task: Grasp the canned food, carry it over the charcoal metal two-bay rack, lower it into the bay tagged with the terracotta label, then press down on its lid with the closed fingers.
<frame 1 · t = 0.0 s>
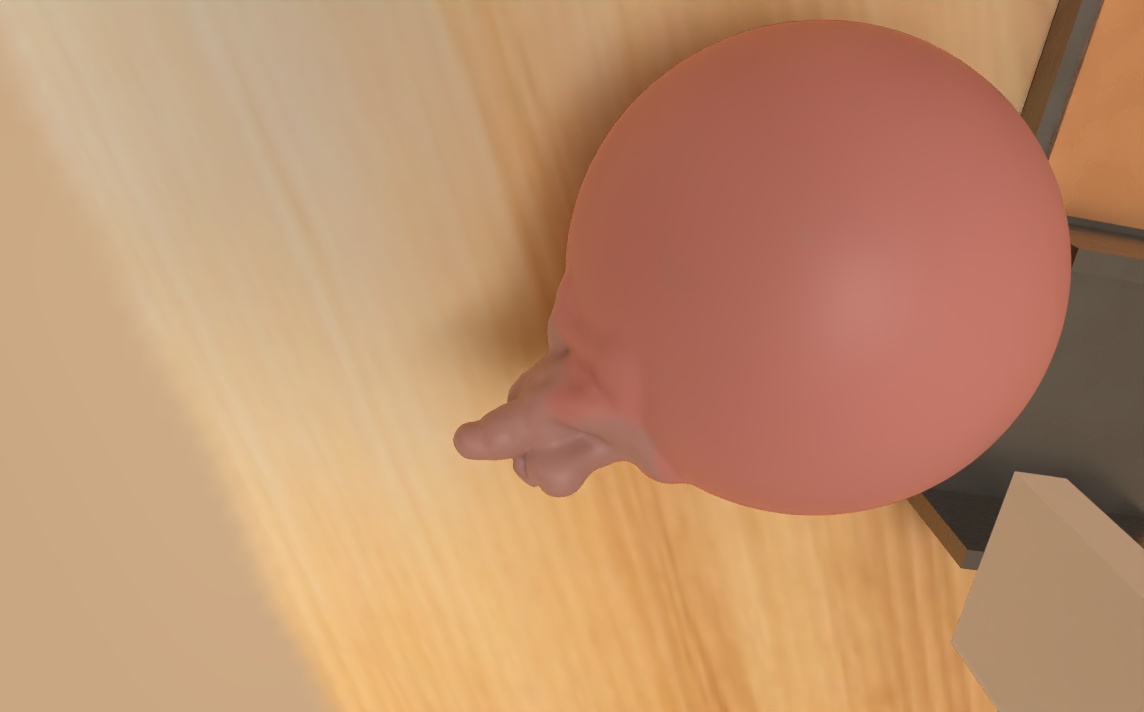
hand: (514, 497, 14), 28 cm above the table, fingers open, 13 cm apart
rack: (1114, 235, 44), on the table
balloon: (690, 233, 42), on the table
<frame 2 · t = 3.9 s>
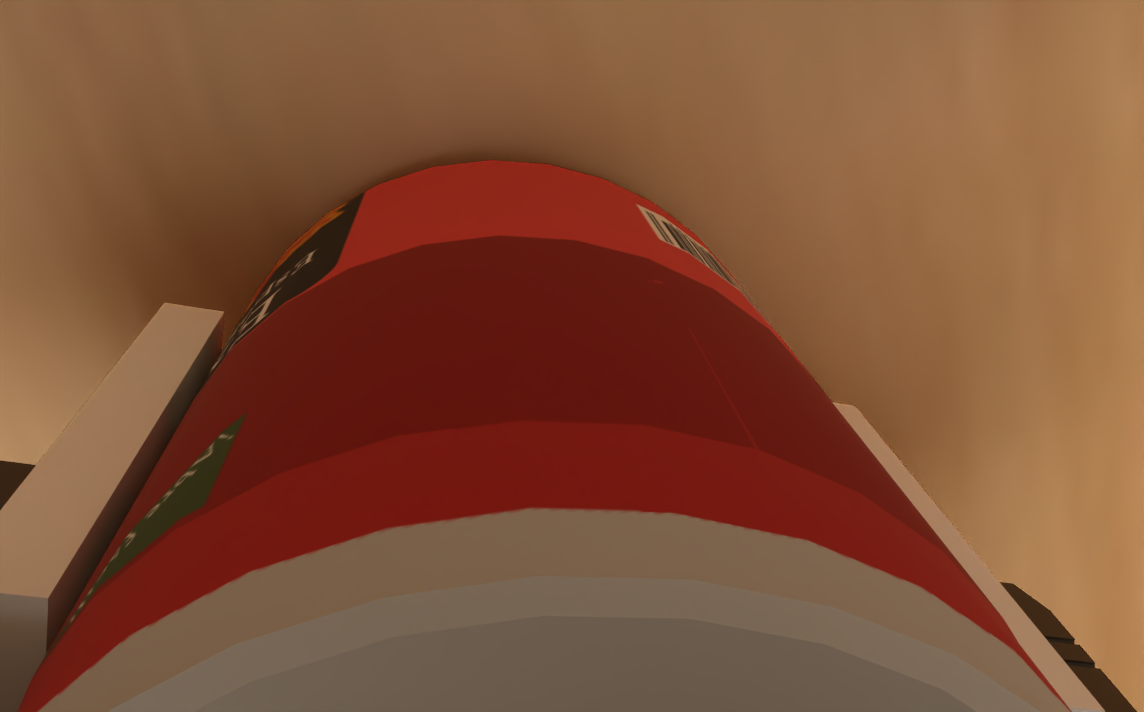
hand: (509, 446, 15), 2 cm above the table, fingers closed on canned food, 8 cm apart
canned food: (504, 389, 17), on the table, touching gripper
when the fingers open (5 cm above the table, at t = 11.0 s): canned food drops 1 cm, resting on rack.
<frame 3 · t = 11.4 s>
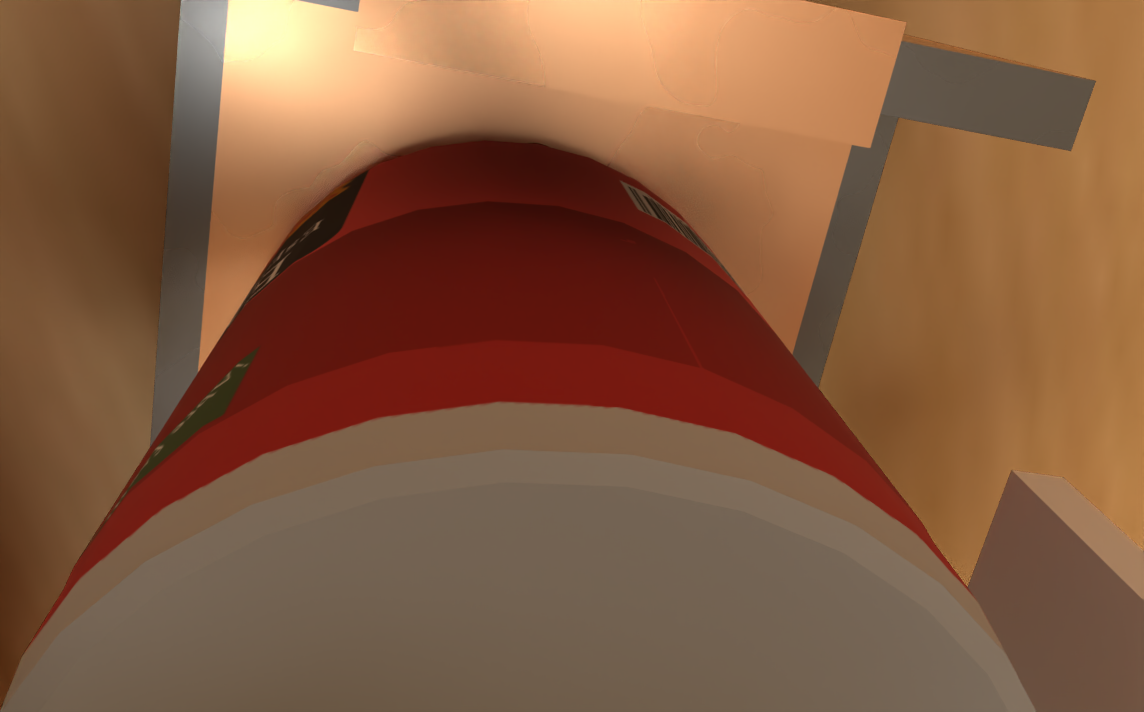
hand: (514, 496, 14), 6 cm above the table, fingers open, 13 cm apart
rack: (447, 606, 22), on the table
canned food: (500, 359, 18), point 2 cm above the table, touching rack
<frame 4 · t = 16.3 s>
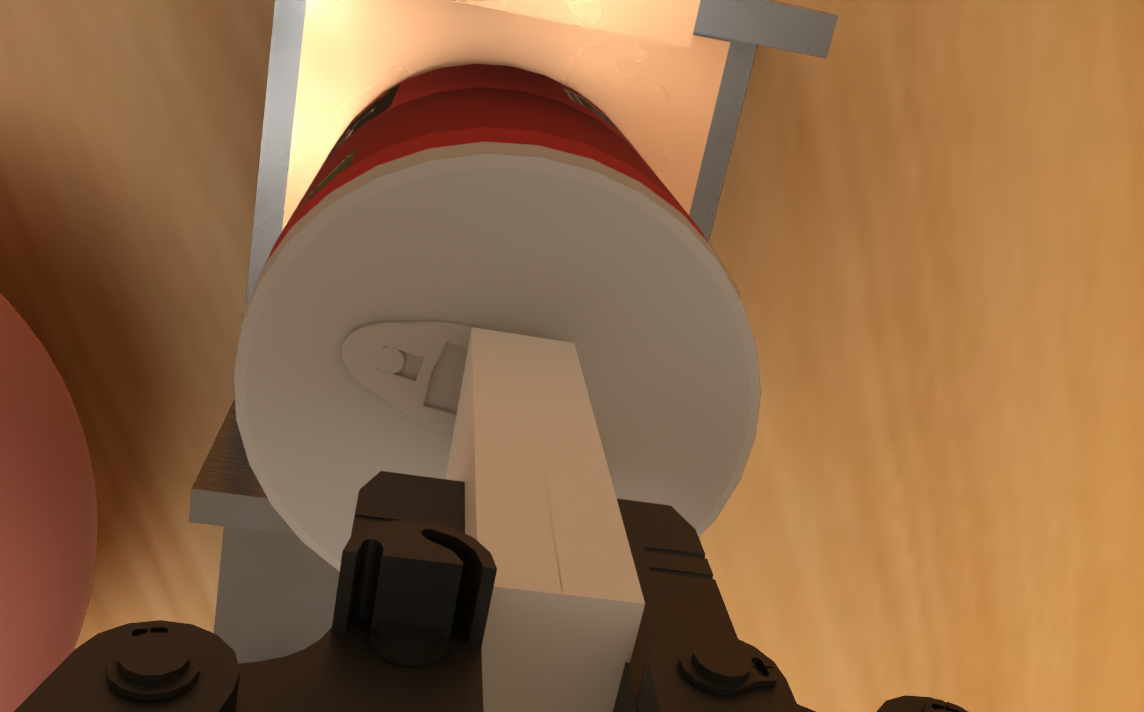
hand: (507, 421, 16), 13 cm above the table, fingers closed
rack: (451, 413, 30), on the table
canned food: (487, 219, 27), point 2 cm above the table, touching gripper, rack
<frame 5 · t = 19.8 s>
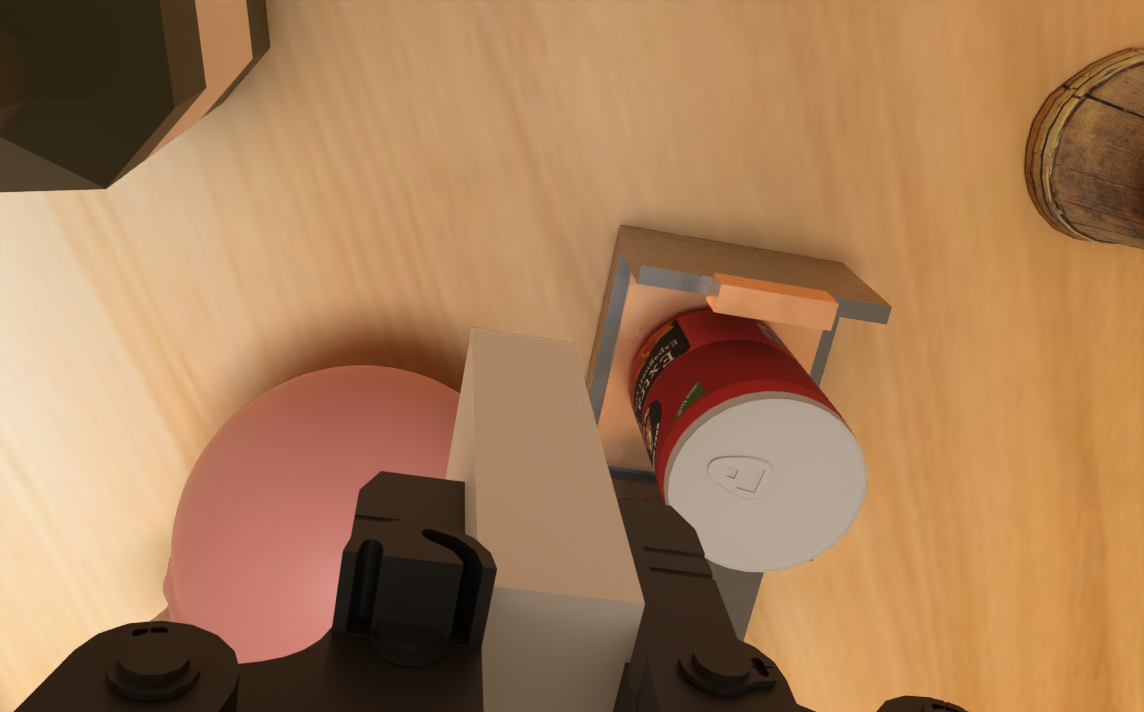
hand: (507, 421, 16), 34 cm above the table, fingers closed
rack: (674, 472, 56), on the table
wine bottle: (172, 9, 46), on the table
balloon: (332, 477, 54), on the table
canned food: (707, 377, 52), point 2 cm above the table, touching rack
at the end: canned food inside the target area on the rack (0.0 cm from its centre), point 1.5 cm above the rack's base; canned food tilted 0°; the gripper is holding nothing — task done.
